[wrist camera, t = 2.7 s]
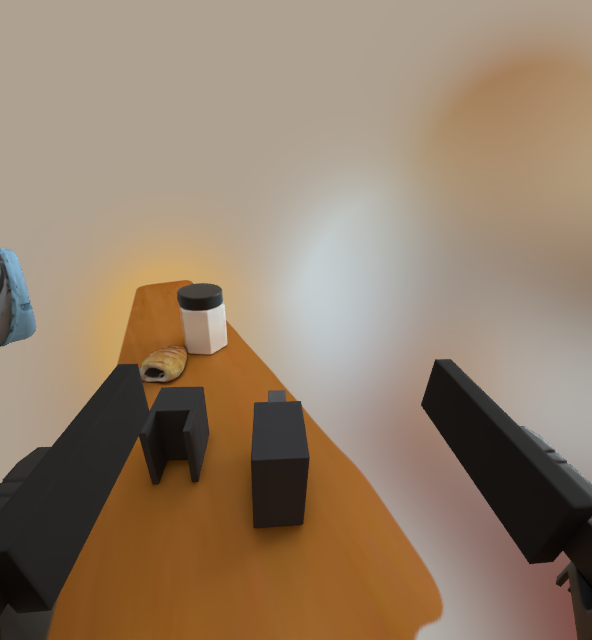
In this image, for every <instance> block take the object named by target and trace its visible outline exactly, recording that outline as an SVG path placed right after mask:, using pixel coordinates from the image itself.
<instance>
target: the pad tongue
mask: <svg viewBox="0 0 592 640" xmlns="http://www.w3.org/2000/svg"><path fill="white" fill-rule="evenodd" d="M309 458H310V457H309V451H308V444H307V438H306V431H305V424H304V418H303V411H302V405H301V401H291V402H286V392H285V390H281V391H268V402H257V403H254V419H253V436H252V454H251V471H252V498H253V524H254V528H260V527H274V526H287V525H301V524H303V520H304V510H305V499H306V489H307V479H308V468H309Z"/></svg>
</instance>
